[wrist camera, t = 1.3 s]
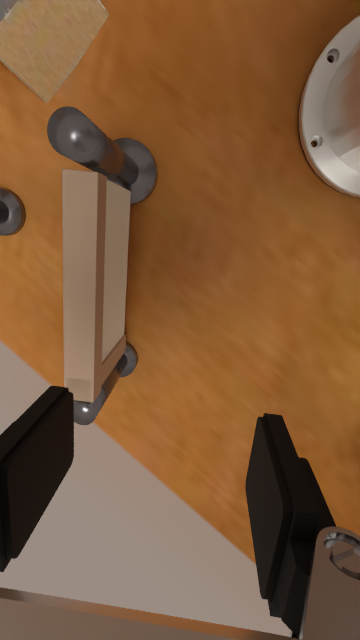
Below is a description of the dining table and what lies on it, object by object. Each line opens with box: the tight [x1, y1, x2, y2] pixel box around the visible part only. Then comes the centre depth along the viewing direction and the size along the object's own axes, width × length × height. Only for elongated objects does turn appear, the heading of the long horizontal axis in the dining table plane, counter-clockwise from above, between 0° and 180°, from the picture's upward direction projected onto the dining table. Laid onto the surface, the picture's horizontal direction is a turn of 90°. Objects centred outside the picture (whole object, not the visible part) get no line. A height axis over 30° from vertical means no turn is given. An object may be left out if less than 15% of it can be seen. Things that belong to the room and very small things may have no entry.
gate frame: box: [0, 107, 157, 425], centre depth 24 cm, size 21×16×12 cm
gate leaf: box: [62, 169, 131, 402], centre depth 24 cm, size 14×2×9 cm, turn 174°
